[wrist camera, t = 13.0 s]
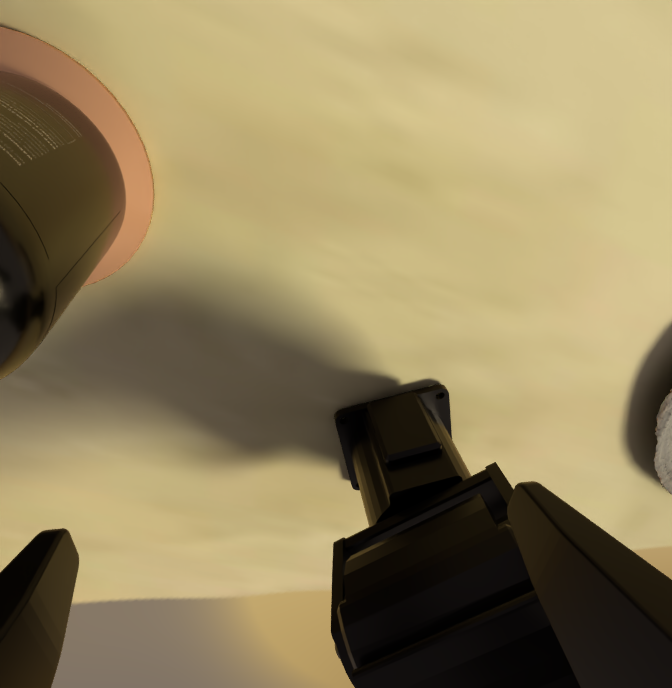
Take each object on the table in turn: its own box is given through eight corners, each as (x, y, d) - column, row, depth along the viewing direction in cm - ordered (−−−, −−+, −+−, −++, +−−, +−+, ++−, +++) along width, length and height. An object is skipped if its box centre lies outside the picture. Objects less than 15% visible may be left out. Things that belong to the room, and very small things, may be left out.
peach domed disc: (189, 257, 19) (187, 260, 19) (-22, 308, 19) (-27, 313, 18) (83, -6, 14) (79, -8, 14) (-205, 58, 14) (-216, 58, 13)
